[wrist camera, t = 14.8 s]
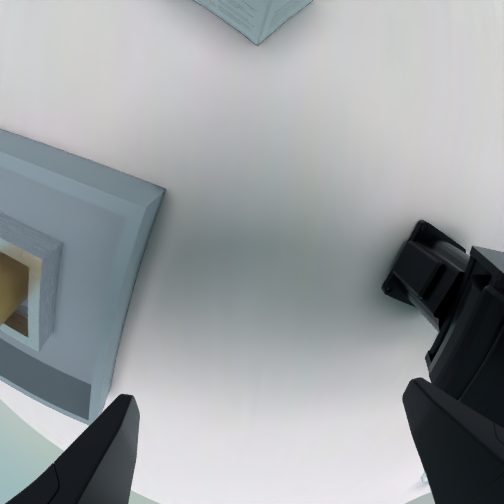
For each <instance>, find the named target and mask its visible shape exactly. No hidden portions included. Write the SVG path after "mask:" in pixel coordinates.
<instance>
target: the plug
mask: <svg viewBox="0 0 504 504" xmlns="http://www.w3.org/2000/svg"><path fill="white" fill-rule="evenodd" d="M28 283H29V267H28V266H27V265H25V264H23V263H21V262H19V261H17V260H15V259H13V258H11V257H10V256H8V255H6V254H4V253H2V252H0V326H1V325H2V324H3V323H4V322H5V321H6V320H7V319H8V318H9V316H10V315H11V314H12V313H13V312H14V311H15V310H16V309H17V308H18V307H19V306H20V305H21V303H22V302H23V301H24V300H25V299H26V298H27V297H28Z"/></svg>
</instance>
